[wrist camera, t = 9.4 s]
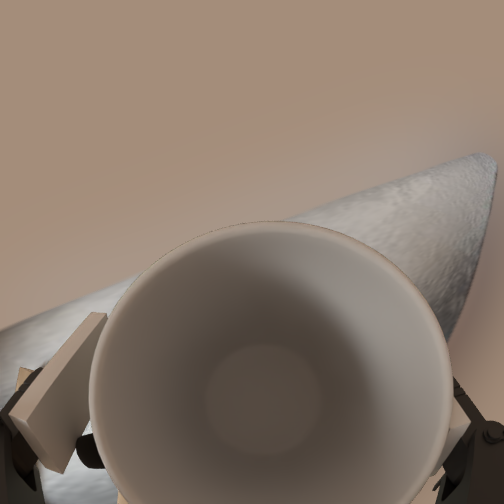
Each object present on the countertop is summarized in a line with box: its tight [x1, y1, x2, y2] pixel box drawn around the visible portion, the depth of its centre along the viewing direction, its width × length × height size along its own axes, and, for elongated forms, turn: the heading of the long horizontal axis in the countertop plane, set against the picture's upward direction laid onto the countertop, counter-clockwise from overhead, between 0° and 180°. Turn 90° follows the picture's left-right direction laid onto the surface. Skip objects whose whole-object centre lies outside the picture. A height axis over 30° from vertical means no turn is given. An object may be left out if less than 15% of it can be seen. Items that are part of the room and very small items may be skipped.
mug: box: [76, 221, 454, 504], centre depth 10 cm, size 12×9×10 cm
